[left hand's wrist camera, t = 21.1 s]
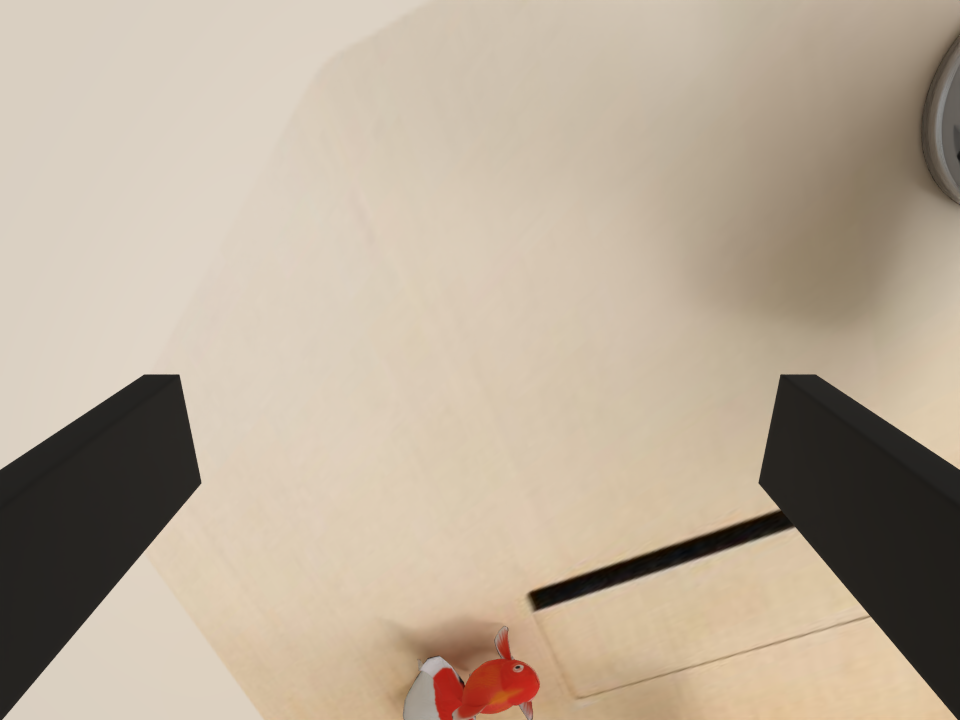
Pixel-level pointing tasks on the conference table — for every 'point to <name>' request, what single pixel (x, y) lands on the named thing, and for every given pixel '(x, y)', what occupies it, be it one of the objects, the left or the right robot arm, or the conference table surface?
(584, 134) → the conference table surface
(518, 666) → the fish
